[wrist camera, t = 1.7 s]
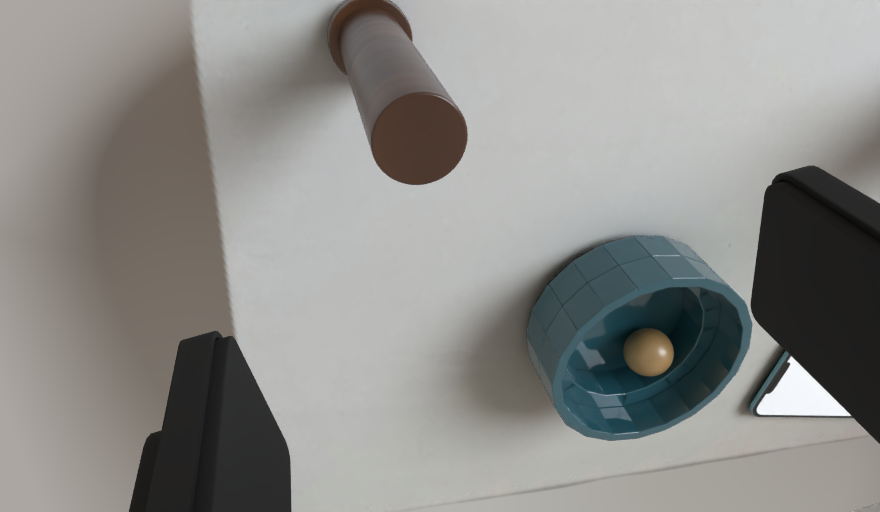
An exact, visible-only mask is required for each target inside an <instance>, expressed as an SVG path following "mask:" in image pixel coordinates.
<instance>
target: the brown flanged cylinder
mask: <svg viewBox="0 0 880 512" xmlns="http://www.w3.org/2000/svg"><path fill="white" fill-rule="evenodd" d="M327 37H328V45H329V49H330V52H331V55H332V58H333V60H334V62H335V63H336V65H337V66H338V67H339V69H340V70H341V71H342V72H343V73H345V74H346V75H347V76H348V78H349V82H350V85H351V88H352V91H353V94H354V97H355V100H356V104H357V107H358V110H359V113H360V116H361V119H362V123H363V126H364V129H365V132H366V135H367V138H368V142H369V145H370V148H371V151H372V154H373V157H374V159H375V161H376V163H377V165H378V166H379V168H380V169H381V170H382V171H383V172H384V173H385V174H386V175H387V176H389V177H390V178H392V179H394V180H396V181H398V182H401V183H405V184H410V185H422V184H428V183H431V182H434V181H437V180H439V179H441V178H443V177H444V176H446V175H447V174H448V173H450V172H451V171H452V170H453V169H454V168H455V167H456V165H457V164H458V163H459V161H460V160H461V158H462V156H463V154H464V152H465V148H466V145H467V136H468V133H467V126H466V122H465V119H464V117H463V115H462V113H461V111H460V110H459V108H458V107H457V106H456V104H455V103H454V101H453V100H452V98H451V97H450V96H449V94H448V93H447V91H446V90H445V88H444V87H443V86H442V84H441V83H440V81H439V80H438V78H437V77H436V76H435V74H434V73H433V71H432V70H431V69H430V67H429V66H428V64H427V63H426V61H425V60H424V59H423V57H422V56H421V54H420V53H419V51H418V50H417V49H416V47H415V46H414V44H413V43H412V32H411V28H410V25H409V22H408V20H407V18H406V17H405V15H404V14H403V12H402V11H401V10H400V9H399V7H398V6H397V5H396V4H394V3H393V2H392V1H391V0H346V1H345V2H343V3H342V4H341V5H340V6H339V7H338V8H337V9H336V11H335V12H334V14H333V16H332V18H331V20H330V23H329V27H328V36H327Z"/></svg>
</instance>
